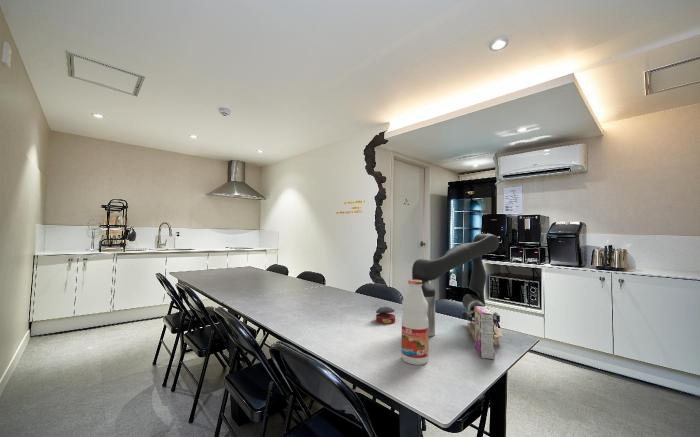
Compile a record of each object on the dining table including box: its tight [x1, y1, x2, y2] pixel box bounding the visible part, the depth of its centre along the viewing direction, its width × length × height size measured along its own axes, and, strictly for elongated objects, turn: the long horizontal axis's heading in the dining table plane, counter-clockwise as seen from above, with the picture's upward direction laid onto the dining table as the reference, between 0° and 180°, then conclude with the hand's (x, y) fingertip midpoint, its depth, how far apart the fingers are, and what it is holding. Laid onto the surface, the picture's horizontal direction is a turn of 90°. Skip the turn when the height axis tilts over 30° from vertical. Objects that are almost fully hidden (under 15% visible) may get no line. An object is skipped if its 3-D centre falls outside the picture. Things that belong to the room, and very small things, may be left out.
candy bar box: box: [474, 306, 495, 360], centre depth 110 cm, size 11×5×16 cm, turn 167°
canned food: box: [375, 306, 396, 325], centre depth 148 cm, size 11×10×10 cm
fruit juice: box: [400, 279, 429, 366], centre depth 103 cm, size 9×9×28 cm
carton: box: [467, 321, 503, 347], centre depth 126 cm, size 12×18×4 cm, turn 163°
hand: (482, 320), depth 114 cm, fingers open, 8 cm apart
